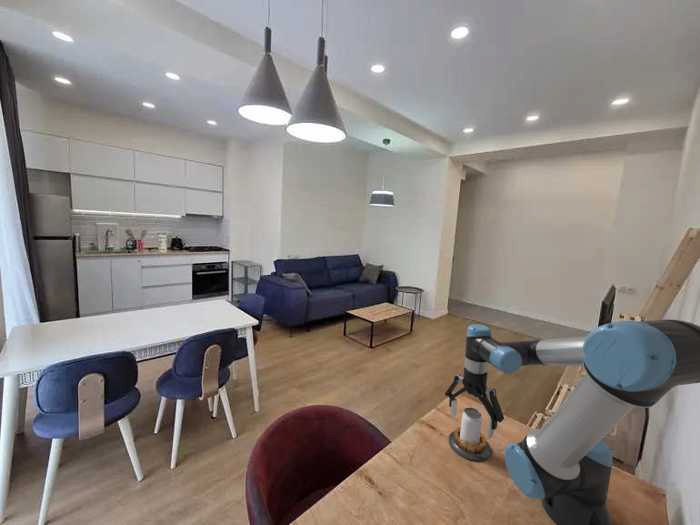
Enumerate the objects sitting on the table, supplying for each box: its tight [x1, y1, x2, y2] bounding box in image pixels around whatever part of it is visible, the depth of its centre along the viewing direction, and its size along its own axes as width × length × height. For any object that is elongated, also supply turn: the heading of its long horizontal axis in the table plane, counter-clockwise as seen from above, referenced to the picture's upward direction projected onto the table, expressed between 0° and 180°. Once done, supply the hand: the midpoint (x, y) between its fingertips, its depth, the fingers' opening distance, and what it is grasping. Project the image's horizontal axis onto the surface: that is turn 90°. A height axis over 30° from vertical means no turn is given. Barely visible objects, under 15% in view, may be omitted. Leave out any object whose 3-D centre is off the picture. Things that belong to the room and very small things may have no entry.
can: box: [460, 407, 483, 445], centre depth 103 cm, size 6×6×12 cm
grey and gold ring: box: [448, 426, 492, 462], centre depth 104 cm, size 14×14×4 cm
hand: (470, 425), depth 103 cm, fingers open, 13 cm apart
